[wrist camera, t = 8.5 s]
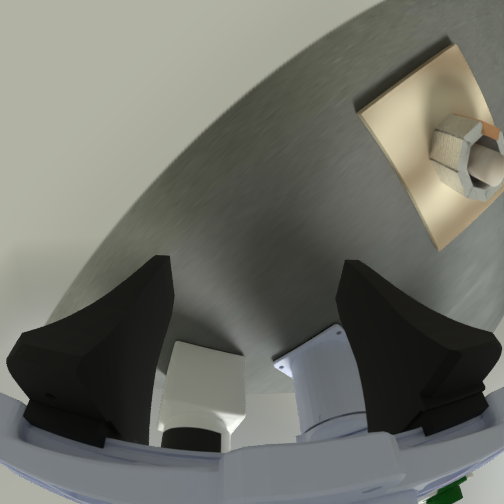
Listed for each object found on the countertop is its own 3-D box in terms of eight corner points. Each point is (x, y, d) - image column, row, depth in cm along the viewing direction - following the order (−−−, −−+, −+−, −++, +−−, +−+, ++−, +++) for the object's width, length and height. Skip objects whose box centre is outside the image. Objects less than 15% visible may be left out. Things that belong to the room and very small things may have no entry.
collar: (472, 188, 19) (497, 204, 16) (424, 179, 18) (451, 195, 15) (483, 125, 16) (512, 135, 13) (435, 107, 16) (465, 113, 13)
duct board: (506, 179, 19) (544, 201, 14) (434, 247, 22) (467, 282, 18) (450, 44, 14) (497, 42, 9) (356, 113, 17) (394, 121, 12)
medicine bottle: (165, 377, 30) (149, 472, 19) (175, 338, 27) (155, 452, 16) (225, 390, 31) (224, 484, 21) (245, 355, 28) (249, 466, 18)
